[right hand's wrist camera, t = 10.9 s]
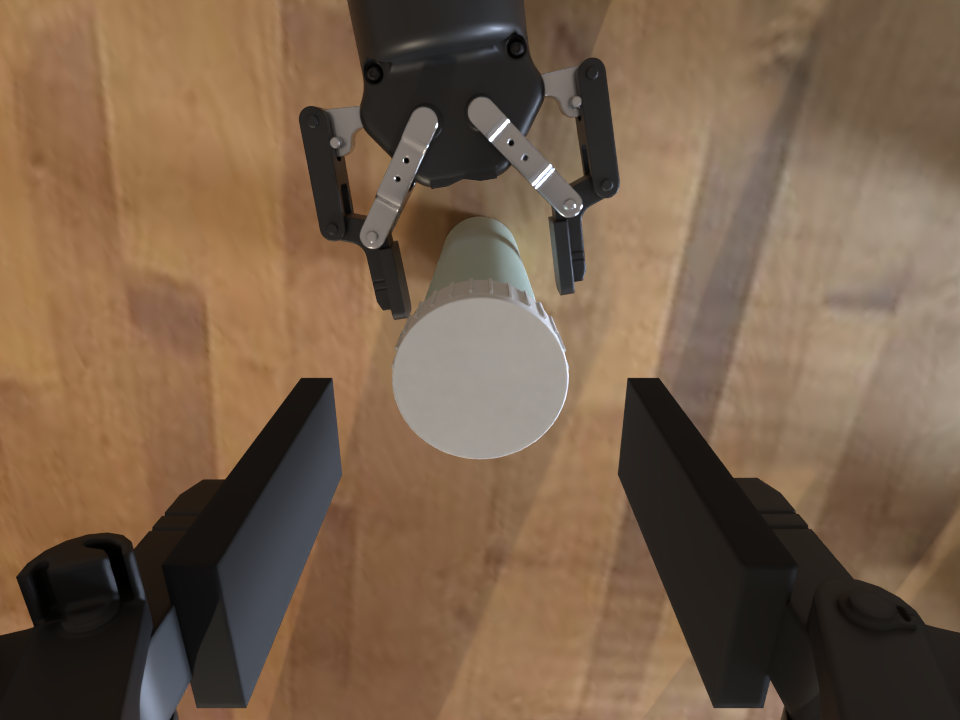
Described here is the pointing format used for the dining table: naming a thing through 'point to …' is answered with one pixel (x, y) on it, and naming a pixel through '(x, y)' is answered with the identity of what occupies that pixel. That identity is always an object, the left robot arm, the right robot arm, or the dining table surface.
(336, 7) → the dining table surface
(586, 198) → the left robot arm
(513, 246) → the bottle
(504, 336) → the lid
